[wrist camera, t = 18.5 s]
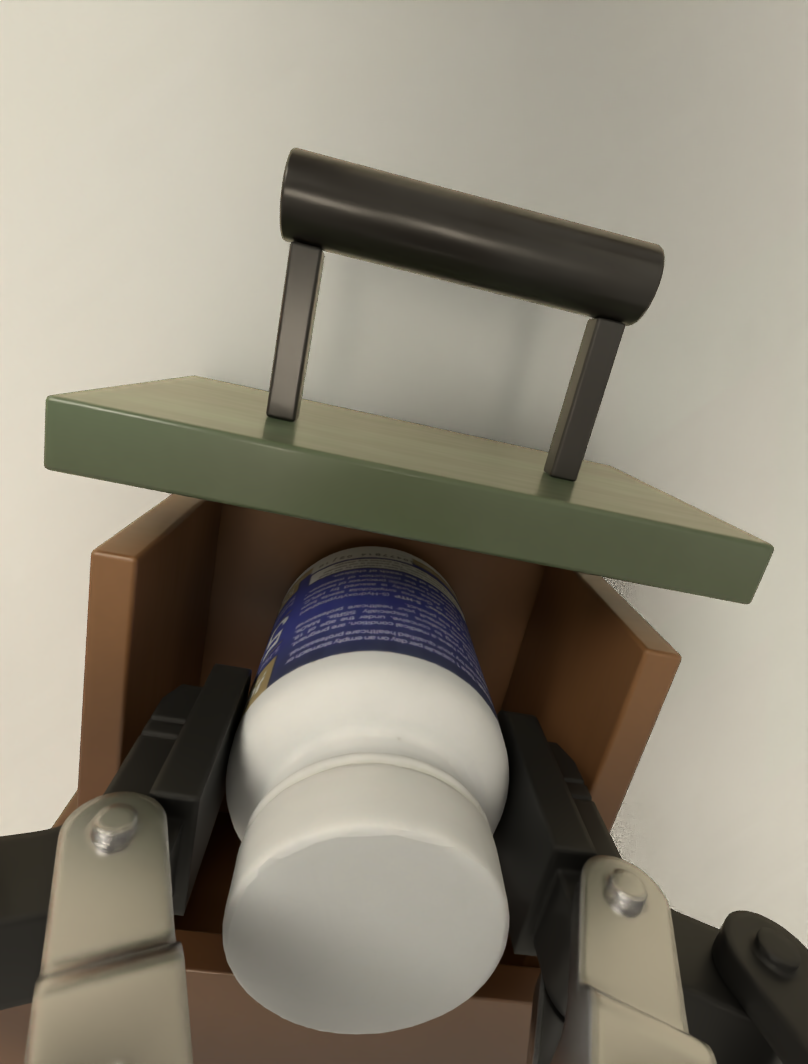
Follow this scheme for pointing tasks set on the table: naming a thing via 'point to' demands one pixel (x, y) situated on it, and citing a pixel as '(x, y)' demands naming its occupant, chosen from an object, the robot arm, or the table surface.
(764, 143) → the table surface
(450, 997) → the pill bottle
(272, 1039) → the cabinet
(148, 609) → the drawer
